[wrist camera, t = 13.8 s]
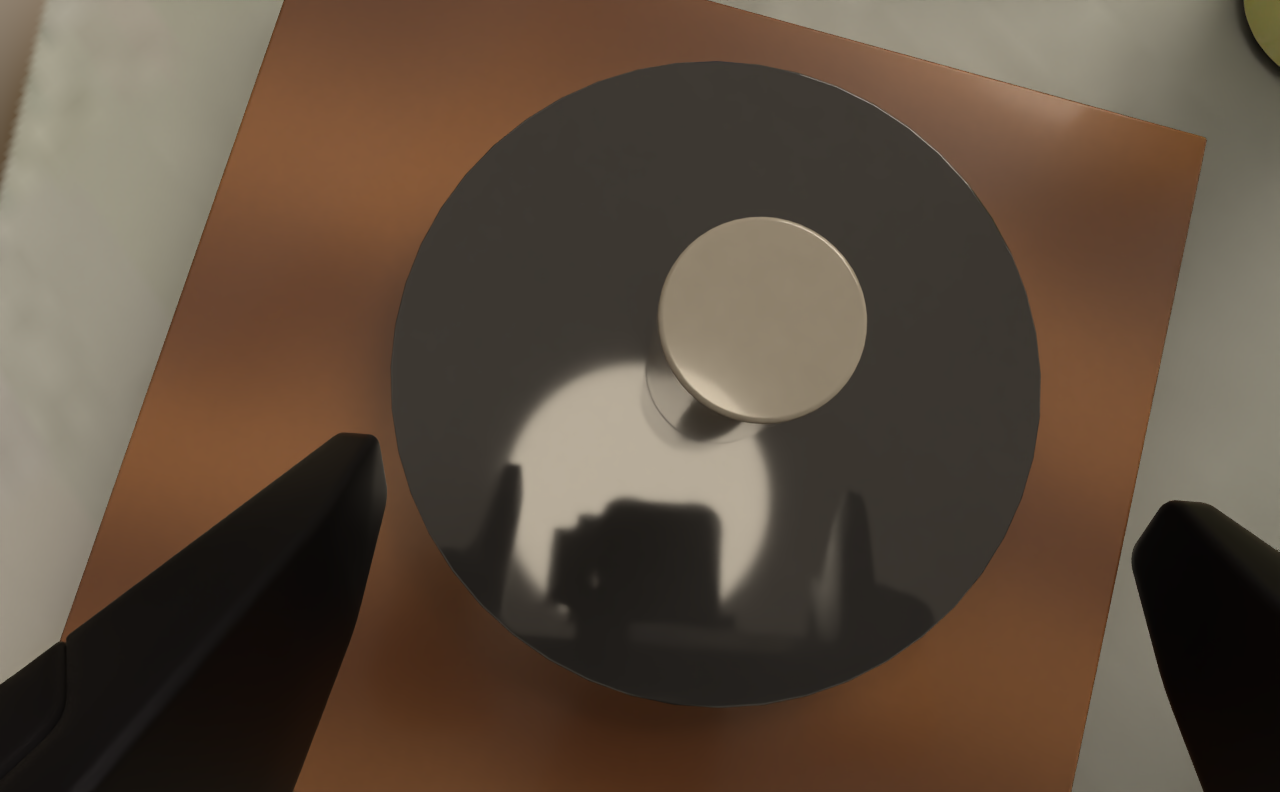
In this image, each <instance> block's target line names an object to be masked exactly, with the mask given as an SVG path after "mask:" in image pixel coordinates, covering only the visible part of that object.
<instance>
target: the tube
mask: <svg viewBox="0 0 1280 792" xmlns="http://www.w3.org/2000/svg"><path fill="white" fill-rule="evenodd" d="M1244 9H1245V14H1246V17H1247V20H1248V23H1249V26H1250V28H1251V30H1252V33H1253V35H1254V37H1255V39H1256V40H1257V42H1258V43H1259V45H1260V46H1261V47H1262V49H1263V50H1264V51H1265V52H1266V54H1267V55H1268V56H1269V57H1270V58H1271V59H1272V60H1273V61H1274V62H1275V63H1276V64H1277V65H1278V66H1279V67H1280V0H1244Z"/></svg>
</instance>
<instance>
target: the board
mask: <svg viewBox="0 0 1280 792" xmlns="http://www.w3.org/2000/svg"><path fill="white" fill-rule="evenodd" d="M707 61H724V62H736V63H748V64H759V65H764V66H769V67H774V68H778V69H783V70H788V71H793V72H798V73H801V74H804V75H807V76H810V77H813V78H816V79H818V80H821V81H824V82H827V83H830V84H833V85H836V86H838V87H840V88H843V89H845V90H847V91H849V92H851V93H853V94H855V95H857V96H859V97H861V98H863V99H865V100H867V101H869V102H871V103H873V104H875V105H877V106H878V107H880V108H881V109H883V110H884V111H886V112H887V113H889V114H890V115H892V116H893V117H895V118H897V119H898V120H900V121H901V122H903V123H904V124H906V125H907V126H909V127H910V128H911V129H912V130H913V131H915V132H916V133H917V134H918V135H919V136H921V137H922V138H923V139H924V140H925V141H926V142H928V143H929V144H930V145H931V146H932V147H934V148H935V149H936V150H937V151H938V152H939V153H941V155H942V156H943V157H944V158H945V159H946V160H947V161H948V162H949V163H950V164H951V165H952V166H953V168H954V169H955V170H956V171H957V172H958V173H959V174H960V175H961V176H962V177H963V178H964V180H965V181H966V182H967V183H968V184H969V185H970V187H971V188H972V190H973V191H974V192H975V194H976V195H977V197H978V198H979V199H980V201H981V202H982V204H983V205H984V206H985V208H986V209H987V211H988V212H989V214H990V215H991V216H992V218H993V220H994V222H995V224H996V225H997V227H998V229H999V231H1000V233H1001V235H1002V237H1003V238H1004V240H1005V242H1006V244H1007V246H1008V248H1009V250H1010V251H1011V253H1012V256H1013V258H1014V261H1015V264H1016V266H1017V269H1018V271H1019V274H1020V277H1021V279H1022V282H1023V285H1024V287H1025V290H1026V292H1027V296H1028V301H1029V305H1030V309H1031V313H1032V317H1033V321H1034V325H1035V329H1036V334H1037V343H1038V353H1039V362H1040V371H1041V394H1040V420H1039V426H1038V433H1037V439H1036V446H1035V452H1034V459H1033V462H1032V465H1031V469H1030V472H1029V476H1028V479H1027V482H1026V486H1025V489H1024V493H1023V496H1022V499H1021V502H1020V504H1019V506H1018V508H1017V510H1016V513H1015V515H1014V517H1013V519H1012V522H1011V524H1010V526H1009V528H1008V531H1007V533H1006V535H1005V537H1004V539H1003V541H1002V542H1001V544H1000V546H999V547H998V549H997V550H996V552H995V554H994V555H993V557H992V559H991V560H990V562H989V563H988V565H987V567H986V568H985V570H984V572H983V573H982V575H981V576H980V577H979V578H978V580H977V581H976V582H975V583H974V584H973V586H972V587H971V588H970V589H969V590H968V592H967V593H966V594H965V595H964V597H963V598H962V599H961V600H960V601H959V603H958V604H957V605H956V606H955V607H954V608H953V609H952V610H951V611H950V612H949V613H948V614H947V615H946V616H945V617H944V618H943V619H942V620H940V621H939V622H938V623H937V624H936V625H935V626H934V627H933V628H932V629H931V630H930V631H929V632H928V633H926V634H925V635H924V636H923V637H922V638H921V639H919V640H918V641H916V642H915V643H913V644H912V645H911V646H909V647H908V648H906V649H905V650H903V651H902V652H901V653H899V654H898V655H896V656H895V657H893V658H892V659H891V660H889V661H888V662H886V663H884V664H882V665H880V666H878V667H876V668H874V669H872V670H870V671H868V672H866V673H865V674H863V675H861V676H859V677H857V678H855V679H853V680H851V681H849V682H847V683H844V684H841V685H838V686H835V687H832V688H829V689H827V690H824V691H821V692H818V693H815V694H812V695H809V696H807V697H802V698H797V699H792V700H787V701H782V702H777V703H772V704H768V705H762V706H746V707H731V708H708V707H694V706H680V705H671V704H667V703H662V702H657V701H652V700H648V699H643V698H638V697H633V696H629V695H627V694H624V693H621V692H618V691H615V690H613V689H610V688H607V687H604V686H601V685H598V684H596V683H593V682H590V681H588V680H586V679H584V678H582V677H580V676H578V675H576V674H574V673H572V672H570V671H568V670H566V669H564V668H562V667H561V666H559V665H557V664H555V663H553V662H551V661H549V660H548V659H546V658H545V657H543V656H542V655H540V654H539V653H538V652H536V651H535V650H533V649H532V648H530V647H529V646H528V645H526V644H525V643H523V642H522V641H520V640H519V639H518V638H516V637H515V636H513V635H512V634H511V633H510V632H509V631H508V630H507V629H506V628H504V627H503V626H502V625H501V624H500V623H499V622H498V621H497V620H496V619H495V618H494V617H493V616H491V615H490V614H489V613H488V612H487V611H486V610H485V609H484V608H483V607H482V606H481V605H480V604H479V603H478V602H477V601H476V600H475V598H474V597H473V596H472V595H471V593H470V592H469V591H468V590H467V589H466V587H465V586H464V585H463V584H462V583H461V581H460V580H459V579H458V578H457V577H456V575H455V574H454V573H453V572H452V570H451V569H450V567H449V566H448V564H447V562H446V561H445V559H444V558H443V556H442V554H441V553H440V551H439V550H438V548H437V546H436V545H435V543H434V542H433V540H432V538H431V537H430V535H429V534H428V531H427V529H426V527H425V525H424V522H423V520H422V518H421V516H420V514H419V511H418V509H417V507H416V505H415V502H414V500H413V498H412V496H411V494H410V490H409V487H408V484H407V480H406V477H405V473H404V470H403V467H402V463H401V460H400V457H399V453H398V448H397V442H396V436H395V429H394V423H393V417H392V410H391V373H390V365H391V356H392V347H393V338H394V329H395V322H396V318H397V314H398V310H399V306H400V302H401V298H402V294H403V290H404V286H405V282H406V280H407V277H408V275H409V272H410V270H411V267H412V265H413V262H414V260H415V257H416V254H417V252H418V249H419V247H420V244H421V243H422V241H423V239H424V237H425V235H426V233H427V232H428V230H429V228H430V226H431V224H432V223H433V221H434V219H435V217H436V215H437V214H438V212H439V210H440V208H441V207H442V205H443V204H444V203H445V201H446V200H447V199H448V197H449V196H450V195H451V193H452V192H453V191H454V189H455V188H456V186H457V185H458V184H459V182H460V181H461V180H462V178H463V177H464V176H465V174H466V173H467V172H468V171H469V170H470V169H471V168H472V167H473V166H474V165H475V164H476V163H477V162H478V161H479V160H480V159H481V158H482V157H483V156H484V155H485V154H486V153H487V152H488V151H489V149H490V148H491V147H492V146H493V145H494V144H496V143H497V142H498V141H499V140H501V139H502V138H503V137H504V136H506V135H507V134H508V133H509V132H511V131H512V130H513V129H514V128H516V127H517V126H518V125H519V124H521V123H522V122H523V121H524V120H526V119H527V118H529V117H530V116H532V115H534V114H535V113H537V112H539V111H540V110H542V109H544V108H545V107H547V106H548V105H550V104H552V103H553V102H555V101H557V100H558V99H560V98H562V97H564V96H566V95H569V94H571V93H573V92H575V91H578V90H580V89H582V88H584V87H587V86H589V85H591V84H593V83H595V82H598V81H601V80H604V79H607V78H611V77H614V76H617V75H621V74H624V73H627V72H631V71H634V70H637V69H643V68H649V67H655V66H661V65H667V64H673V63H683V62H707ZM1206 142H1207V140H1206V138H1205V137H1202V136H1198V135H1194V134H1191V133H1187V132H1183V131H1180V130H1176V129H1173V128H1169V127H1165V126H1162V125H1158V124H1154V123H1151V122H1147V121H1144V120H1140V119H1136V118H1133V117H1129V116H1125V115H1122V114H1118V113H1115V112H1111V111H1107V110H1104V109H1100V108H1096V107H1093V106H1089V105H1085V104H1082V103H1078V102H1075V101H1071V100H1067V99H1064V98H1060V97H1056V96H1053V95H1049V94H1046V93H1042V92H1038V91H1035V90H1031V89H1027V88H1024V87H1020V86H1017V85H1013V84H1009V83H1006V82H1002V81H998V80H995V79H991V78H988V77H984V76H980V75H977V74H973V73H969V72H966V71H962V70H959V69H955V68H951V67H948V66H944V65H940V64H937V63H933V62H929V61H926V60H922V59H919V58H915V57H911V56H908V55H904V54H900V53H897V52H893V51H890V50H886V49H882V48H879V47H875V46H871V45H868V44H864V43H861V42H857V41H853V40H850V39H846V38H842V37H839V36H835V35H832V34H828V33H824V32H821V31H817V30H813V29H810V28H806V27H803V26H799V25H795V24H792V23H788V22H784V21H781V20H777V19H774V18H770V17H766V16H763V15H759V14H755V13H752V12H748V11H744V10H741V9H737V8H734V7H730V6H726V5H723V4H719V3H715V2H712V1H708V0H284V2H283V5H282V8H281V10H280V13H279V16H278V19H277V22H276V25H275V28H274V30H273V33H272V36H271V39H270V42H269V45H268V48H267V50H266V53H265V56H264V59H263V62H262V65H261V68H260V70H259V73H258V76H257V79H256V82H255V85H254V88H253V90H252V93H251V96H250V99H249V102H248V105H247V108H246V110H245V113H244V116H243V119H242V122H241V125H240V128H239V130H238V133H237V136H236V139H235V142H234V145H233V148H232V150H231V153H230V156H229V159H228V162H227V165H226V168H225V170H224V173H223V176H222V179H221V182H220V185H219V188H218V190H217V193H216V196H215V199H214V202H213V205H212V208H211V210H210V213H209V216H208V219H207V222H206V225H205V228H204V230H203V233H202V236H201V239H200V242H199V245H198V248H197V250H196V253H195V256H194V259H193V262H192V265H191V268H190V270H189V273H188V276H187V279H186V282H185V285H184V288H183V290H182V293H181V296H180V299H179V302H178V305H177V308H176V310H175V313H174V316H173V319H172V322H171V325H170V328H169V330H168V333H167V336H166V339H165V342H164V345H163V348H162V350H161V353H160V356H159V359H158V362H157V365H156V368H155V370H154V373H153V376H152V379H151V382H150V385H149V388H148V390H147V393H146V396H145V399H144V402H143V405H142V408H141V410H140V413H139V416H138V419H137V422H136V425H135V428H134V430H133V433H132V436H131V439H130V442H129V445H128V448H127V450H126V453H125V456H124V459H123V462H122V465H121V468H120V470H119V473H118V476H117V479H116V482H115V485H114V488H113V490H112V493H111V496H110V499H109V502H108V505H107V508H106V510H105V513H104V516H103V519H102V522H101V525H100V528H99V530H98V533H97V536H96V539H95V542H94V545H93V548H92V550H91V553H90V556H89V559H88V562H87V565H86V568H85V570H84V573H83V576H82V579H81V582H80V585H79V588H78V591H77V593H76V596H75V599H74V602H73V605H72V608H71V611H70V613H69V616H68V619H67V622H66V625H65V628H64V631H63V633H62V636H61V639H60V641H62V642H66V638H67V636H68V635H69V634H70V633H71V632H73V631H74V630H75V629H77V628H78V627H79V626H81V625H82V624H83V623H85V622H86V621H87V620H89V619H90V618H91V617H93V616H94V615H95V614H97V613H98V612H99V611H101V610H102V609H103V608H105V607H106V606H107V605H109V604H110V603H111V602H113V601H114V600H115V599H117V598H118V597H119V596H121V595H122V594H123V593H125V592H126V591H127V590H129V589H130V588H131V587H133V586H134V585H135V584H137V583H138V582H140V581H141V580H142V579H144V578H145V577H146V576H148V575H149V574H150V573H152V572H153V571H154V570H156V569H157V568H158V567H160V566H161V565H162V564H164V563H165V562H166V561H168V560H169V559H170V558H172V557H173V556H174V555H176V554H177V553H178V552H180V551H181V550H182V549H184V548H185V547H186V546H188V545H189V544H190V543H192V542H193V541H194V540H196V539H197V538H198V537H200V536H201V535H202V534H204V533H205V532H206V531H208V530H209V529H210V528H212V527H213V526H214V525H216V524H217V523H218V522H220V521H221V520H222V519H224V518H225V517H226V516H228V515H229V514H230V513H232V512H233V511H234V510H236V509H237V508H238V507H240V506H241V505H242V504H244V503H245V502H246V501H248V500H249V499H250V498H252V497H253V496H254V495H256V494H257V493H258V492H260V491H261V490H262V489H264V488H265V487H266V486H268V485H269V484H271V483H272V482H273V481H275V480H276V479H277V478H279V477H280V476H281V475H283V474H284V473H285V472H287V471H288V470H289V469H291V468H292V467H293V466H295V465H296V464H297V463H299V462H300V461H301V460H303V459H304V458H305V457H307V456H308V455H309V454H311V453H312V452H313V451H315V450H316V449H317V448H319V447H320V446H321V445H323V444H324V443H325V442H327V441H328V440H329V439H331V438H332V437H333V436H335V435H337V434H339V433H343V432H348V433H360V434H371V435H373V436H375V437H376V438H377V439H378V441H379V444H380V448H381V454H382V460H383V466H384V472H385V478H386V484H387V500H386V507H385V511H384V515H383V519H382V523H381V527H380V531H379V535H378V539H377V543H376V547H375V551H374V555H373V559H372V563H371V567H370V571H369V575H368V579H367V583H366V587H365V591H364V595H363V599H362V603H361V607H360V611H359V615H358V618H357V622H356V626H355V628H354V631H353V634H352V637H351V640H350V643H349V646H348V648H347V651H346V654H345V656H344V659H343V661H342V664H341V667H340V669H339V672H338V675H337V677H336V680H335V683H334V685H333V688H332V690H331V693H330V696H329V698H328V701H327V704H326V706H325V709H324V711H323V714H322V717H321V719H320V722H319V725H318V727H317V730H316V732H315V735H314V738H313V740H312V743H311V746H310V748H309V751H308V754H307V756H306V759H305V761H304V764H303V767H302V769H301V772H300V775H299V777H298V780H297V782H296V785H295V788H294V790H293V792H1071V791H1072V786H1073V781H1074V776H1075V771H1076V767H1077V762H1078V757H1079V752H1080V747H1081V743H1082V738H1083V733H1084V728H1085V723H1086V719H1087V714H1088V709H1089V704H1090V699H1091V695H1092V690H1093V685H1094V680H1095V675H1096V671H1097V666H1098V661H1099V656H1100V651H1101V646H1102V642H1103V637H1104V632H1105V627H1106V622H1107V618H1108V613H1109V608H1110V603H1111V598H1112V594H1113V589H1114V584H1115V579H1116V574H1117V570H1118V565H1119V560H1120V555H1121V550H1122V545H1123V541H1124V536H1125V531H1126V526H1127V521H1128V517H1129V512H1130V507H1131V502H1132V497H1133V493H1134V488H1135V483H1136V478H1137V473H1138V469H1139V464H1140V459H1141V454H1142V449H1143V445H1144V440H1145V435H1146V430H1147V425H1148V420H1149V416H1150V411H1151V406H1152V401H1153V396H1154V392H1155V387H1156V382H1157V377H1158V372H1159V368H1160V363H1161V358H1162V353H1163V348H1164V344H1165V339H1166V334H1167V329H1168V324H1169V319H1170V315H1171V310H1172V305H1173V300H1174V295H1175V291H1176V286H1177V281H1178V276H1179V271H1180V267H1181V262H1182V257H1183V252H1184V247H1185V243H1186V238H1187V233H1188V228H1189V223H1190V218H1191V214H1192V209H1193V204H1194V199H1195V194H1196V190H1197V185H1198V180H1199V175H1200V170H1201V166H1202V161H1203V156H1204V151H1205V146H1206Z"/></svg>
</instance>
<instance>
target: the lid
mask: <svg viewBox="0 0 1280 792" xmlns="http://www.w3.org/2000/svg"><path fill="white" fill-rule="evenodd" d="M390 373H391V410H392V417H393V423H394V429H395V436H396V442H397V448H398V453H399V457H400V460H401V463H402V467H403V470H404V473H405V477H406V480H407V484H408V487H409V490H410V494H411V496H412V498H413V500H414V502H415V505H416V507H417V509H418V511H419V514H420V516H421V518H422V520H423V522H424V525H425V527H426V529H427V531H428V534H429V535H430V537H431V538H432V540H433V542H434V543H435V545H436V546H437V548H438V550H439V551H440V553H441V554H442V556H443V558H444V559H445V561H446V562H447V564H448V566H449V567H450V569H451V570H452V572H453V573H454V574H455V575H456V577H457V578H458V579H459V580H460V581H461V583H462V584H463V585H464V586H465V587H466V589H467V590H468V591H469V592H470V593H471V595H472V596H473V597H474V598H475V600H476V601H477V602H478V603H479V604H480V605H481V606H482V607H483V608H484V609H485V610H486V611H487V612H488V613H489V614H490V615H491V616H493V617H494V618H495V619H496V620H497V621H498V622H499V623H500V624H501V625H502V626H503V627H504V628H506V629H507V630H508V631H509V632H510V633H511V634H512V635H513V636H515V637H516V638H518V639H519V640H520V641H522V642H523V643H525V644H526V645H528V646H529V647H530V648H532V649H533V650H535V651H536V652H538V653H539V654H540V655H542V656H543V657H545V658H546V659H548V660H549V661H551V662H553V663H555V664H557V665H559V666H561V667H562V668H564V669H566V670H568V671H570V672H572V673H574V674H576V675H578V676H580V677H582V678H584V679H586V680H588V681H590V682H593V683H596V684H598V685H601V686H604V687H607V688H610V689H613V690H615V691H618V692H621V693H624V694H627V695H629V696H633V697H638V698H643V699H648V700H652V701H657V702H662V703H667V704H671V705H680V706H694V707H708V708H731V707H746V706H762V705H768V704H772V703H777V702H782V701H787V700H792V699H797V698H802V697H807V696H809V695H812V694H815V693H818V692H821V691H824V690H827V689H829V688H832V687H835V686H838V685H841V684H844V683H847V682H849V681H851V680H853V679H855V678H857V677H859V676H861V675H863V674H865V673H866V672H868V671H870V670H872V669H874V668H876V667H878V666H880V665H882V664H884V663H886V662H888V661H889V660H891V659H892V658H893V657H895V656H896V655H898V654H899V653H901V652H902V651H903V650H905V649H906V648H908V647H909V646H911V645H912V644H913V643H915V642H916V641H918V640H919V639H921V638H922V637H923V636H924V635H925V634H926V633H928V632H929V631H930V630H931V629H932V628H933V627H934V626H935V625H936V624H937V623H938V622H939V621H940V620H942V619H943V618H944V617H945V616H946V615H947V614H948V613H949V612H950V611H951V610H952V609H953V608H954V607H955V606H956V605H957V604H958V603H959V601H960V600H961V599H962V598H963V597H964V595H965V594H966V593H967V592H968V590H969V589H970V588H971V587H972V586H973V584H974V583H975V582H976V581H977V580H978V578H979V577H980V576H981V575H982V573H983V572H984V570H985V568H986V567H987V565H988V563H989V562H990V560H991V559H992V557H993V555H994V554H995V552H996V550H997V549H998V547H999V546H1000V544H1001V542H1002V541H1003V539H1004V537H1005V535H1006V533H1007V531H1008V528H1009V526H1010V524H1011V522H1012V519H1013V517H1014V515H1015V513H1016V510H1017V508H1018V506H1019V504H1020V502H1021V499H1022V496H1023V493H1024V489H1025V486H1026V482H1027V479H1028V476H1029V472H1030V469H1031V465H1032V462H1033V459H1034V452H1035V446H1036V439H1037V433H1038V426H1039V420H1040V394H1041V371H1040V362H1039V353H1038V343H1037V334H1036V329H1035V325H1034V321H1033V317H1032V313H1031V309H1030V305H1029V301H1028V296H1027V292H1026V290H1025V287H1024V285H1023V282H1022V279H1021V277H1020V274H1019V271H1018V269H1017V266H1016V264H1015V261H1014V258H1013V256H1012V253H1011V251H1010V250H1009V248H1008V246H1007V244H1006V242H1005V240H1004V238H1003V237H1002V235H1001V233H1000V231H999V229H998V227H997V225H996V224H995V222H994V220H993V218H992V216H991V215H990V214H989V212H988V211H987V209H986V208H985V206H984V205H983V204H982V202H981V201H980V199H979V198H978V197H977V195H976V194H975V192H974V191H973V190H972V188H971V187H970V185H969V184H968V183H967V182H966V181H965V180H964V178H963V177H962V176H961V175H960V174H959V173H958V172H957V171H956V170H955V169H954V168H953V166H952V165H951V164H950V163H949V162H948V161H947V160H946V159H945V158H944V157H943V156H942V155H941V153H939V152H938V151H937V150H936V149H935V148H934V147H932V146H931V145H930V144H929V143H928V142H926V141H925V140H924V139H923V138H922V137H921V136H919V135H918V134H917V133H916V132H915V131H913V130H912V129H911V128H910V127H909V126H907V125H906V124H904V123H903V122H901V121H900V120H898V119H897V118H895V117H893V116H892V115H890V114H889V113H887V112H886V111H884V110H883V109H881V108H880V107H878V106H877V105H875V104H873V103H871V102H869V101H867V100H865V99H863V98H861V97H859V96H857V95H855V94H853V93H851V92H849V91H847V90H845V89H843V88H840V87H838V86H836V85H833V84H830V83H827V82H824V81H821V80H818V79H816V78H813V77H810V76H807V75H804V74H801V73H798V72H793V71H788V70H783V69H778V68H774V67H769V66H764V65H759V64H748V63H736V62H724V61H707V62H683V63H673V64H667V65H661V66H655V67H649V68H643V69H637V70H634V71H631V72H627V73H624V74H621V75H617V76H614V77H611V78H607V79H604V80H601V81H598V82H595V83H593V84H591V85H589V86H587V87H584V88H582V89H580V90H578V91H575V92H573V93H571V94H569V95H566V96H564V97H562V98H560V99H558V100H557V101H555V102H553V103H552V104H550V105H548V106H547V107H545V108H544V109H542V110H540V111H539V112H537V113H535V114H534V115H532V116H530V117H529V118H527V119H526V120H524V121H523V122H522V123H521V124H519V125H518V126H517V127H516V128H514V129H513V130H512V131H511V132H509V133H508V134H507V135H506V136H504V137H503V138H502V139H501V140H499V141H498V142H497V143H496V144H494V145H493V146H492V147H491V148H490V149H489V151H488V152H487V153H486V154H485V155H484V156H483V157H482V158H481V159H480V160H479V161H478V162H477V163H476V164H475V165H474V166H473V167H472V168H471V169H470V170H469V171H468V172H467V173H466V174H465V176H464V177H463V178H462V180H461V181H460V182H459V184H458V185H457V186H456V188H455V189H454V191H453V192H452V193H451V195H450V196H449V197H448V199H447V200H446V201H445V203H444V204H443V205H442V207H441V208H440V210H439V212H438V214H437V215H436V217H435V219H434V221H433V223H432V224H431V226H430V228H429V230H428V232H427V233H426V235H425V237H424V239H423V241H422V243H421V244H420V247H419V249H418V252H417V254H416V257H415V260H414V262H413V265H412V267H411V270H410V272H409V275H408V277H407V280H406V282H405V286H404V290H403V294H402V298H401V302H400V306H399V310H398V314H397V318H396V322H395V329H394V338H393V347H392V356H391V365H390Z"/></svg>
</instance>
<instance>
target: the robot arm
mask: <svg viewBox="0 0 1280 792" xmlns="http://www.w3.org/2000/svg"><path fill="white" fill-rule="evenodd" d="M386 500H387V484H386V478H385V472H384V466H383V460H382V454H381V448H380V444H379V441H378V439H377V438H376V437H375V436H373V435H371V434H360V433H348V432H343V433H339V434H337V435H335V436H333V437H332V438H331V439H329V440H328V441H327V442H325V443H324V444H323V445H321V446H320V447H319V448H317V449H316V450H315V451H313V452H312V453H311V454H309V455H308V456H307V457H305V458H304V459H303V460H301V461H300V462H299V463H297V464H296V465H295V466H293V467H292V468H291V469H289V470H288V471H287V472H285V473H284V474H283V475H281V476H280V477H279V478H277V479H276V480H275V481H273V482H272V483H271V484H269V485H268V486H266V487H265V488H264V489H262V490H261V491H260V492H258V493H257V494H256V495H254V496H253V497H252V498H250V499H249V500H248V501H246V502H245V503H244V504H242V505H241V506H240V507H238V508H237V509H236V510H234V511H233V512H232V513H230V514H229V515H228V516H226V517H225V518H224V519H222V520H221V521H220V522H218V523H217V524H216V525H214V526H213V527H212V528H210V529H209V530H208V531H206V532H205V533H204V534H202V535H201V536H200V537H198V538H197V539H196V540H194V541H193V542H192V543H190V544H189V545H188V546H186V547H185V548H184V549H182V550H181V551H180V552H178V553H177V554H176V555H174V556H173V557H172V558H170V559H169V560H168V561H166V562H165V563H164V564H162V565H161V566H160V567H158V568H157V569H156V570H154V571H153V572H152V573H150V574H149V575H148V576H146V577H145V578H144V579H142V580H141V581H140V582H138V583H137V584H135V585H134V586H133V587H131V588H130V589H129V590H127V591H126V592H125V593H123V594H122V595H121V596H119V597H118V598H117V599H115V600H114V601H113V602H111V603H110V604H109V605H107V606H106V607H105V608H103V609H102V610H101V611H99V612H98V613H97V614H95V615H94V616H93V617H91V618H90V619H89V620H87V621H86V622H85V623H83V624H82V625H81V626H79V627H78V628H77V629H75V630H74V631H73V632H71V633H70V634H69V635H68V636H67V638H66V642H62V641H60V642H58V643H56V644H55V645H53V646H52V647H51V648H49V649H48V650H47V651H45V652H44V653H43V654H41V655H40V656H39V657H37V658H36V659H35V660H33V661H32V662H31V663H29V664H28V665H27V666H25V667H24V668H23V669H21V670H20V671H19V672H17V673H16V674H14V675H13V676H12V677H10V678H9V679H7V680H6V681H5V682H3V683H2V684H0V792H293V790H294V788H295V785H296V782H297V780H298V777H299V775H300V772H301V769H302V767H303V764H304V761H305V759H306V756H307V754H308V751H309V748H310V746H311V743H312V740H313V738H314V735H315V732H316V730H317V727H318V725H319V722H320V719H321V717H322V714H323V711H324V709H325V706H326V704H327V701H328V698H329V696H330V693H331V690H332V688H333V685H334V683H335V680H336V677H337V675H338V672H339V669H340V667H341V664H342V661H343V659H344V656H345V654H346V651H347V648H348V646H349V643H350V640H351V637H352V634H353V631H354V628H355V626H356V622H357V618H358V615H359V611H360V607H361V603H362V599H363V595H364V591H365V587H366V583H367V579H368V575H369V571H370V567H371V563H372V559H373V555H374V551H375V547H376V543H377V539H378V535H379V531H380V527H381V523H382V519H383V515H384V511H385V507H386ZM1131 560H1132V570H1133V573H1134V577H1135V581H1136V585H1137V589H1138V592H1139V596H1140V600H1141V604H1142V607H1143V611H1144V615H1145V619H1146V623H1147V626H1148V630H1149V634H1150V638H1151V641H1152V645H1153V649H1154V653H1155V656H1156V660H1157V664H1158V668H1159V671H1160V675H1161V678H1162V681H1163V685H1164V688H1165V691H1166V694H1167V697H1168V699H1169V702H1170V705H1171V708H1172V711H1173V713H1174V716H1175V718H1176V721H1177V724H1178V726H1179V729H1180V731H1181V734H1182V737H1183V739H1184V742H1185V744H1186V747H1187V750H1188V752H1189V755H1190V757H1191V760H1192V763H1193V765H1194V768H1195V770H1196V773H1197V776H1198V778H1199V781H1200V784H1201V786H1202V789H1203V791H1204V792H1280V552H1278V551H1277V550H1275V549H1274V548H1272V547H1271V546H1270V545H1268V544H1267V543H1265V542H1264V541H1262V540H1261V539H1259V538H1258V537H1257V536H1255V535H1254V534H1252V533H1251V532H1249V531H1248V530H1246V529H1245V528H1243V527H1242V526H1241V525H1239V524H1238V523H1236V522H1235V521H1233V520H1232V519H1230V518H1229V517H1228V516H1226V515H1225V514H1223V513H1222V512H1220V511H1219V510H1217V509H1216V508H1214V507H1213V506H1211V505H1209V504H1206V503H1202V502H1190V501H1178V500H1173V501H1169V502H1167V503H1165V504H1164V505H1162V506H1161V508H1160V509H1159V510H1158V512H1157V513H1156V515H1155V516H1154V518H1153V519H1152V520H1151V522H1150V523H1149V525H1148V526H1147V528H1146V529H1145V531H1144V532H1143V534H1142V535H1141V537H1140V538H1139V540H1138V541H1137V543H1136V544H1135V546H1134V549H1133V552H1132V559H1131Z"/></svg>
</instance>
